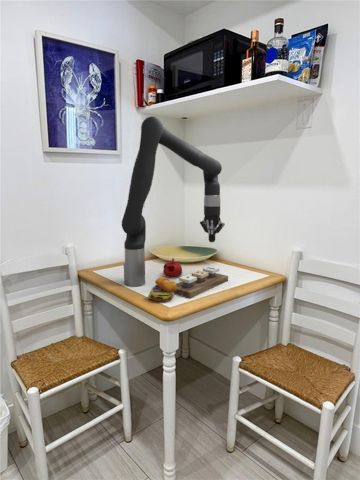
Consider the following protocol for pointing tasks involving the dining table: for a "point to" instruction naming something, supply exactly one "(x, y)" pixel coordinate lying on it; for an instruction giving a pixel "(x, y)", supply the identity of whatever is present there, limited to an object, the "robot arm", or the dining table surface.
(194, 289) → the key board
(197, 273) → the key two
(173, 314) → the dining table surface
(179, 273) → the pomegranate
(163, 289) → the cheeseburger
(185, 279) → the key one
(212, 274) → the key three
